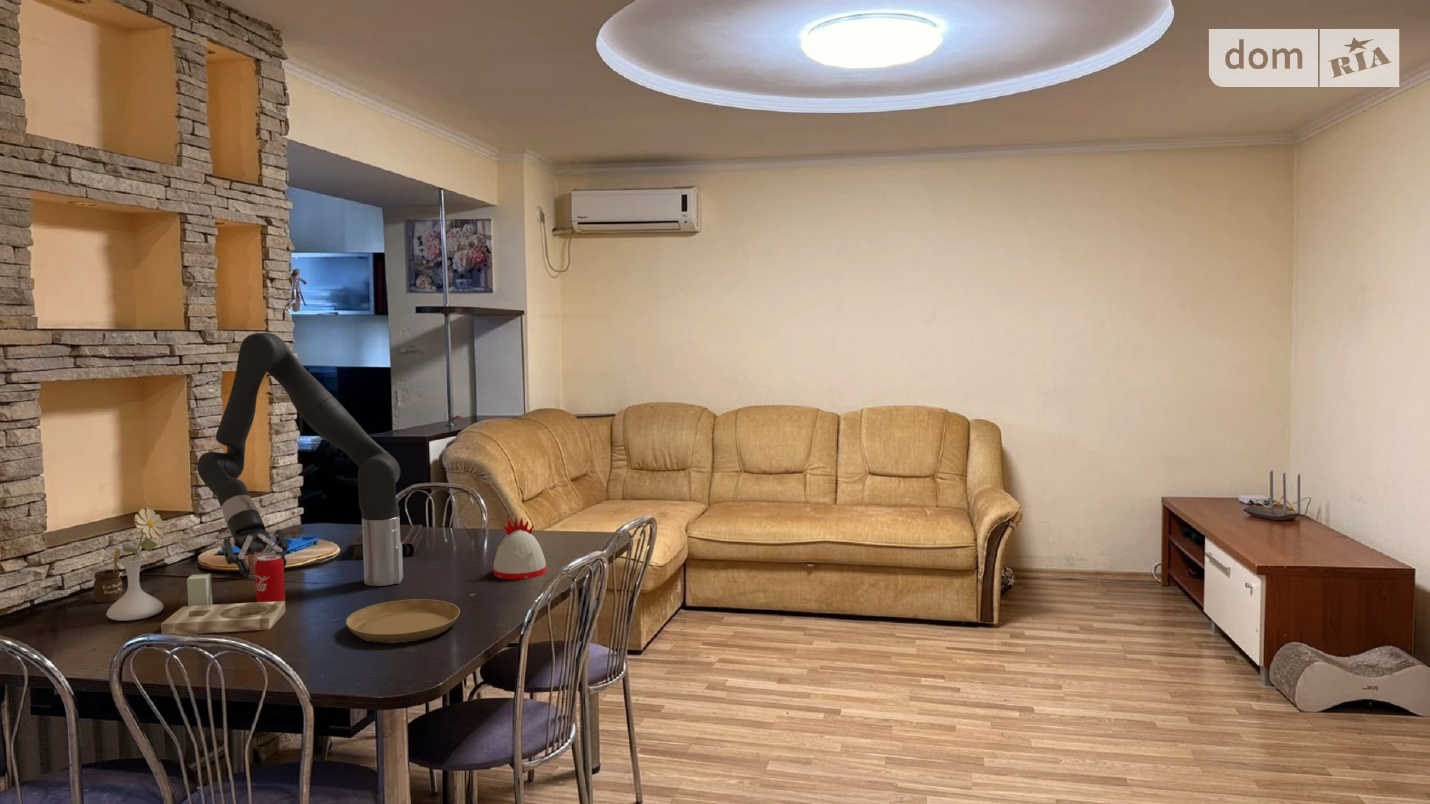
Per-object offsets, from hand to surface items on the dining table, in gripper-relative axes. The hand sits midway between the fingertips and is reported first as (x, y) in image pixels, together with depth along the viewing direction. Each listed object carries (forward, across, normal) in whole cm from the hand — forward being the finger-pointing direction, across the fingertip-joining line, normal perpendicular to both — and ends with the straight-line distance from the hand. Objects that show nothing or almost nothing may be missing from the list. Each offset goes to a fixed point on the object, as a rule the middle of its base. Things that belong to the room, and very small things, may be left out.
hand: (265, 571), depth 232 cm
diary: (-15, +50, +27) cm, 59 cm away
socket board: (+12, -13, 0) cm, 18 cm away
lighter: (-14, +11, +26) cm, 32 cm away
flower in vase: (-4, -23, +16) cm, 28 cm away
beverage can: (+7, 0, +5) cm, 9 cm away
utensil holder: (-18, -23, +30) cm, 42 cm away
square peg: (+3, -13, +9) cm, 16 cm away
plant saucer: (+35, +12, -23) cm, 44 cm away
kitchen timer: (+23, +57, -11) cm, 63 cm away
